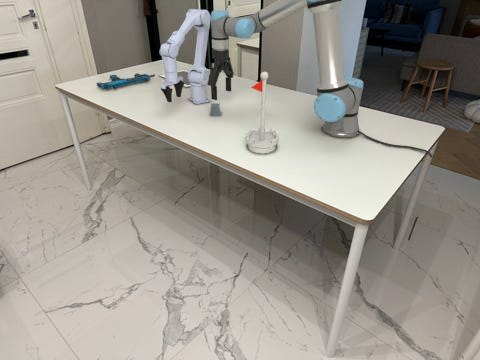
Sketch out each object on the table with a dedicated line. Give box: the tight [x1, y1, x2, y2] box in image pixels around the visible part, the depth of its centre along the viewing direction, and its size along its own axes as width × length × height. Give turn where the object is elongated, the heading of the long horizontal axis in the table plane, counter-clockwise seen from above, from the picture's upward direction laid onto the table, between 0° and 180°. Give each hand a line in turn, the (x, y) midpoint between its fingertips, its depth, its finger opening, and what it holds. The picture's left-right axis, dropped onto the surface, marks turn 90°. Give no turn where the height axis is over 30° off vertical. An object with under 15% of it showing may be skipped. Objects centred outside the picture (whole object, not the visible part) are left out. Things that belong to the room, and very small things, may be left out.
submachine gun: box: [95, 72, 156, 91], centre depth 209 cm, size 34×4×25 cm
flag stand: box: [245, 71, 280, 154], centre depth 128 cm, size 13×13×30 cm
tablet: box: [158, 69, 191, 88], centre depth 216 cm, size 32×20×1 cm, turn 41°
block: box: [210, 102, 221, 117], centre depth 165 cm, size 4×4×5 cm
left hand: (174, 99), depth 165 cm, fingers open, 7 cm apart
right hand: (221, 95), depth 163 cm, fingers open, 13 cm apart
